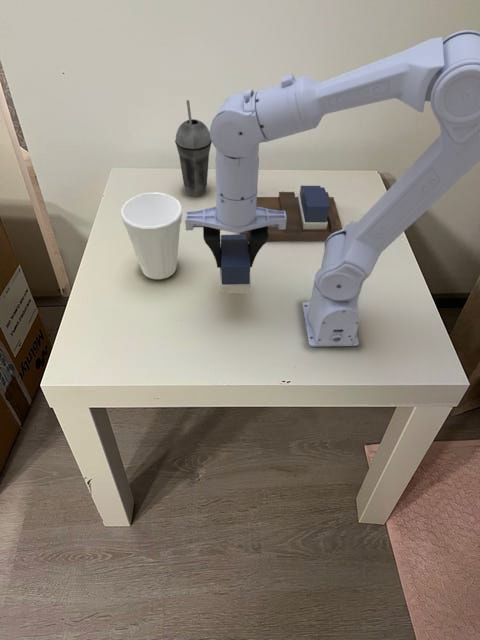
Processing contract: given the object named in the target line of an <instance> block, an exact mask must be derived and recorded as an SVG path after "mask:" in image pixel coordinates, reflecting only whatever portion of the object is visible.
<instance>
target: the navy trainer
mask: <svg viewBox="0 0 480 640" xmlns="http://www.w3.org/2000/svg"><path fill="white" fill-rule="evenodd" d="M248 243H249V241H248V239H246V235H240V234H220V246H221V268H219V284H220V285H219V288H220V294H239V293H240V294H244V293H246V294H247V293H248V294H249V293H251V289H252V284H251V283H252V282H251V267H250V257H249V246H248Z"/></svg>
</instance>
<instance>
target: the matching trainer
mask: <svg viewBox="0 0 480 640" xmlns="http://www.w3.org/2000/svg"><path fill="white" fill-rule="evenodd" d="M326 192H327V191H326V188H325V187H324V186H323V187H321V185H300V189H299V193H297V197H298V198H297V201H298V206H299V211H300V216H301V221H302V226H303V229H327V225H328V222H327V217H328V212H329V207H330V206H329V203H328V199H327V195H326Z"/></svg>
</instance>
